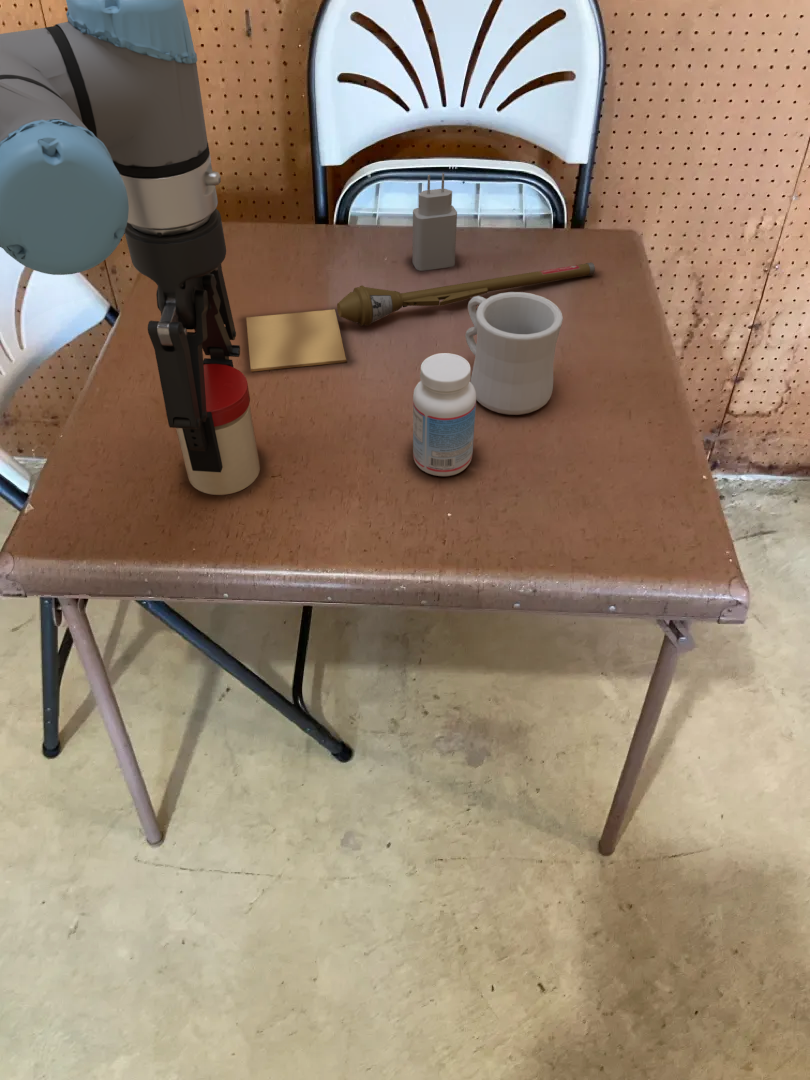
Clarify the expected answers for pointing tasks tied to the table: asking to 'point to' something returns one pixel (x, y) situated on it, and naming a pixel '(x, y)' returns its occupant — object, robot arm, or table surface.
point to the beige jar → (228, 458)
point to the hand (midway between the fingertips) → (217, 441)
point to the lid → (225, 393)
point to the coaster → (294, 340)
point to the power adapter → (434, 229)
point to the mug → (513, 350)
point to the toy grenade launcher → (442, 293)
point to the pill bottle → (444, 415)
